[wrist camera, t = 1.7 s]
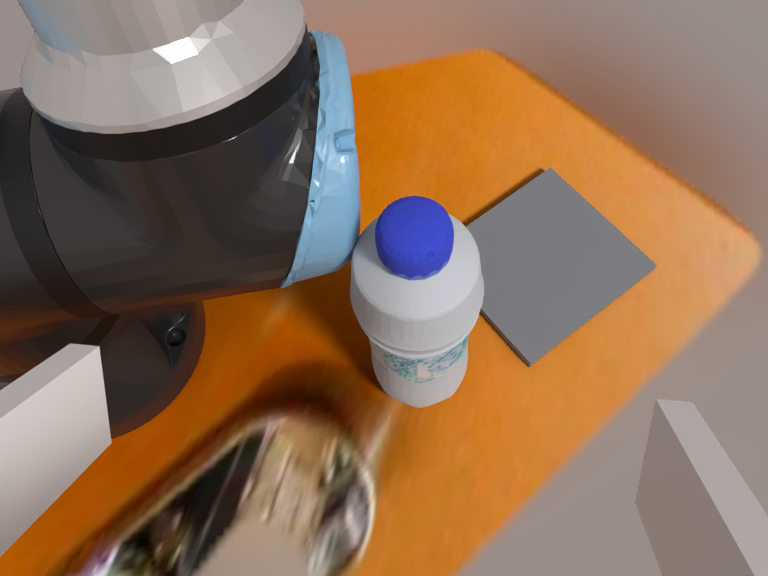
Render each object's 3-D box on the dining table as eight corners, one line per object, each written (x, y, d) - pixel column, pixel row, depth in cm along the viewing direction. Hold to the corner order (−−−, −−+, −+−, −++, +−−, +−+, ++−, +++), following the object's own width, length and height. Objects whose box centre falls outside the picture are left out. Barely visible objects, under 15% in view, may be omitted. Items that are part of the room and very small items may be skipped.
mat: (429, 256, 47) (429, 251, 46) (548, 173, 50) (550, 167, 49) (528, 367, 43) (530, 363, 42) (653, 270, 45) (656, 265, 45)
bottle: (374, 323, 45) (337, 155, 27) (467, 324, 45) (493, 153, 27) (370, 415, 42) (326, 296, 24) (469, 417, 42) (500, 297, 24)
